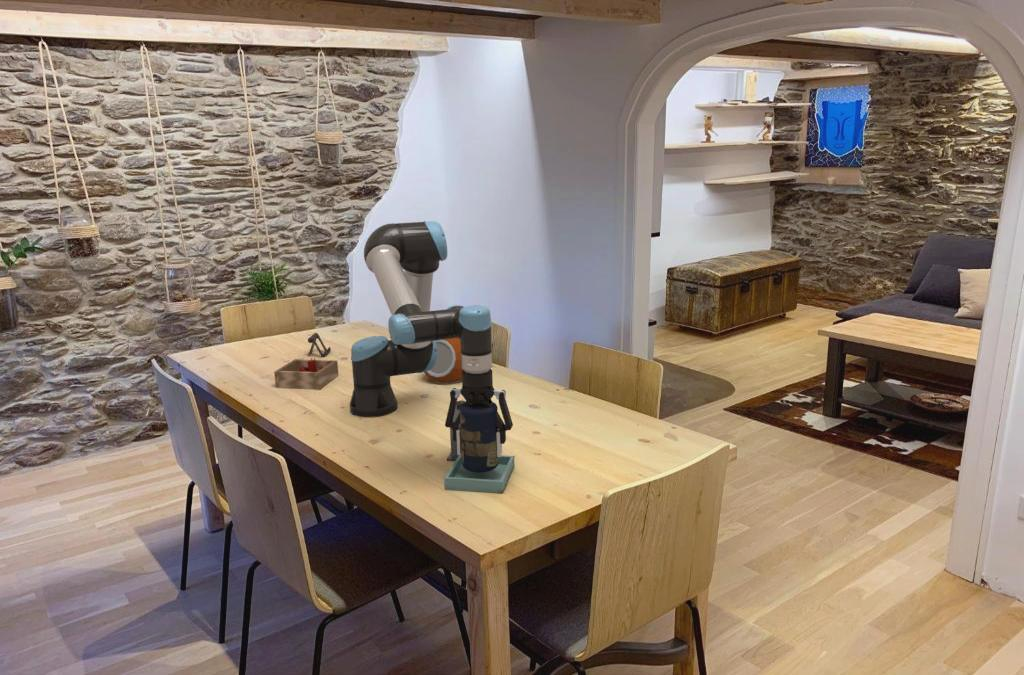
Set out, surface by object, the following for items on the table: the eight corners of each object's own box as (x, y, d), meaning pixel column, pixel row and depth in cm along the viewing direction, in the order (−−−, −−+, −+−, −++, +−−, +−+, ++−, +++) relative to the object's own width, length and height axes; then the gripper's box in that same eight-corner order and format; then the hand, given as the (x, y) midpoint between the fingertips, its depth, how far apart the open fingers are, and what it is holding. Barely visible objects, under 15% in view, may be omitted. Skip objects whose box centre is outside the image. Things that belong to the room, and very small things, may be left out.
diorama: (336, 381, 271) (334, 359, 269) (303, 387, 266) (300, 364, 264) (329, 374, 280) (327, 352, 278) (297, 379, 275) (295, 357, 273)
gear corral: (275, 387, 265) (274, 371, 264) (296, 374, 281) (295, 359, 279) (320, 389, 262) (318, 373, 261) (338, 376, 277) (337, 360, 276)
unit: (446, 460, 201) (444, 406, 197) (454, 449, 208) (452, 396, 204) (486, 463, 198) (484, 408, 195) (492, 451, 206) (491, 398, 202)
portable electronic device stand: (325, 357, 303) (323, 337, 301) (306, 358, 303) (304, 338, 301) (331, 351, 311) (329, 332, 309) (312, 352, 311) (310, 332, 309)
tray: (444, 489, 184) (444, 478, 183) (460, 463, 199) (460, 453, 198) (502, 493, 181) (502, 481, 180) (514, 466, 196) (514, 456, 195)
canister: (461, 460, 193) (458, 395, 189) (498, 458, 194) (496, 393, 190) (462, 476, 184) (459, 407, 180) (500, 474, 185) (498, 405, 180)
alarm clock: (412, 383, 267) (410, 336, 263) (435, 369, 283) (433, 325, 279) (460, 388, 260) (459, 340, 256) (481, 374, 276) (480, 328, 272)
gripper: (428, 372, 181) (433, 457, 187) (518, 375, 177) (520, 462, 183) (437, 363, 188) (441, 445, 194) (524, 366, 184) (525, 450, 190)
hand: (479, 453), depth 188 cm, fingers closed on canister, 10 cm apart
